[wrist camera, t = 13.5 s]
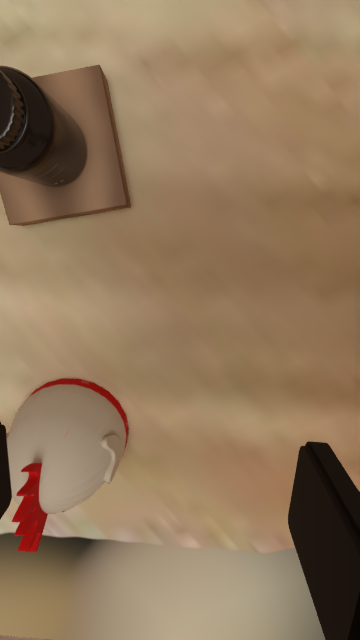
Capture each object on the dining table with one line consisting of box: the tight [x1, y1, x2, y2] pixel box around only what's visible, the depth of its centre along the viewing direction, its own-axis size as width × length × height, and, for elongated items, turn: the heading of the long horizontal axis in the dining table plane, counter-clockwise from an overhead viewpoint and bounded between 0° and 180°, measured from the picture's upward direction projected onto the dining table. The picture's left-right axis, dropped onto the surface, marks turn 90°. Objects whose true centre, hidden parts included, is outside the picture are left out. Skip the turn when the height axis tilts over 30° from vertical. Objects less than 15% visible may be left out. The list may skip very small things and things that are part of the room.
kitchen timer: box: [6, 379, 129, 552], centre depth 35 cm, size 14×14×15 cm
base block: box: [0, 65, 131, 226], centre depth 32 cm, size 12×12×3 cm
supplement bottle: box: [0, 66, 86, 187], centre depth 25 cm, size 7×7×12 cm
